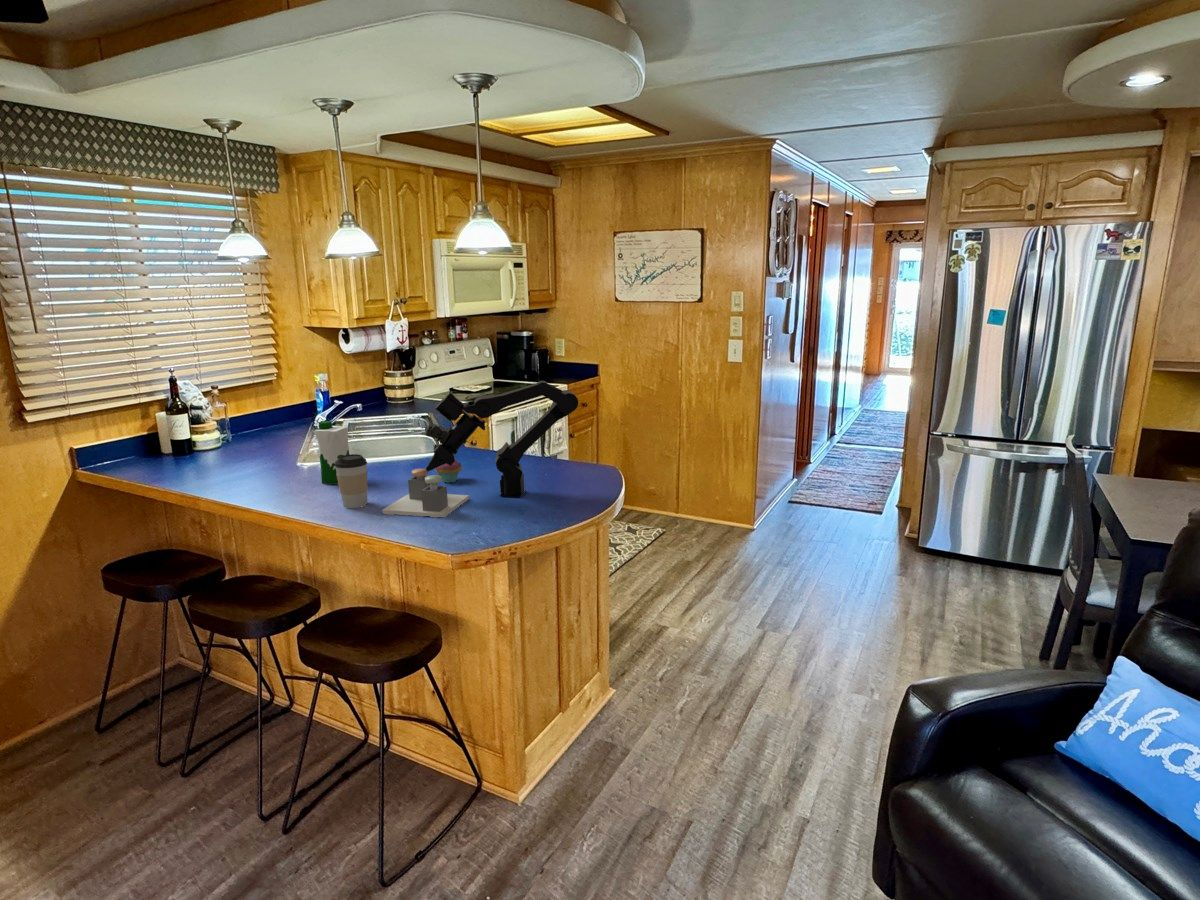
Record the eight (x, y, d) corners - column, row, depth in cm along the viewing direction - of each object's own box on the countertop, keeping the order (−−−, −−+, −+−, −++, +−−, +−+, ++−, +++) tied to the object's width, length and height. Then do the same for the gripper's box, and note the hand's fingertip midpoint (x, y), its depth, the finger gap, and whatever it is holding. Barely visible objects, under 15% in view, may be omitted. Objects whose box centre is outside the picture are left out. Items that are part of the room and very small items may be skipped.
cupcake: (436, 485, 222) (433, 449, 219) (435, 478, 230) (432, 443, 227) (463, 483, 224) (461, 447, 222) (461, 476, 232) (459, 441, 229)
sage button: (446, 498, 198) (444, 475, 196) (438, 503, 193) (436, 480, 192) (431, 497, 199) (429, 474, 197) (423, 502, 194) (421, 479, 193)
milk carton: (332, 476, 234) (326, 419, 229) (356, 478, 232) (350, 419, 228) (317, 484, 226) (310, 424, 221) (342, 485, 224) (335, 425, 219)
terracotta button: (431, 490, 208) (430, 468, 207) (424, 495, 204) (422, 473, 202) (418, 490, 209) (416, 468, 208) (410, 494, 205) (408, 472, 203)
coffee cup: (360, 497, 211) (355, 450, 207) (377, 503, 205) (372, 454, 202) (333, 505, 204) (327, 456, 201) (350, 511, 199) (344, 461, 195)
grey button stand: (469, 499, 208) (467, 476, 206) (444, 518, 192) (442, 493, 190) (411, 495, 212) (409, 473, 211) (382, 513, 196) (380, 489, 195)
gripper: (441, 408, 211) (408, 445, 212) (438, 419, 193) (402, 461, 194) (469, 431, 214) (436, 468, 215) (469, 444, 196) (433, 485, 197)
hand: (427, 470), depth 205 cm, fingers closed, pressing on terracotta button
